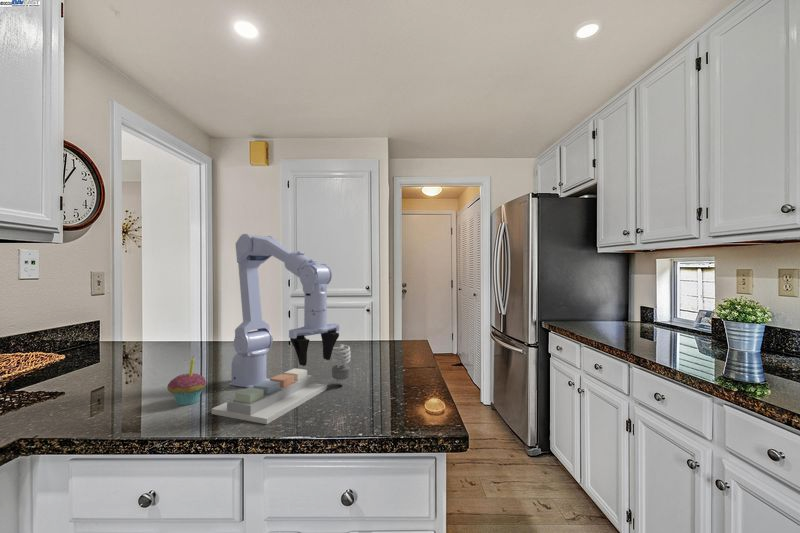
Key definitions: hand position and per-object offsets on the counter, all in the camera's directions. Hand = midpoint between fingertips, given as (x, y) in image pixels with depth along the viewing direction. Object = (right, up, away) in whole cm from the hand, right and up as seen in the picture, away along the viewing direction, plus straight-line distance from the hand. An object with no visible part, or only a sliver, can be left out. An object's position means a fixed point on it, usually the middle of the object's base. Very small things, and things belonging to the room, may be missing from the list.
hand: (315, 362), depth 96 cm
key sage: (-13, -7, -9) cm, 18 cm away
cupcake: (-32, -10, -2) cm, 34 cm away
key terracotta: (-9, -7, +2) cm, 12 cm away
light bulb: (+5, -10, +12) cm, 16 cm away
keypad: (-10, -10, -1) cm, 14 cm away
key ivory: (-7, -7, +8) cm, 13 cm away
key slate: (-11, -7, -3) cm, 14 cm away
